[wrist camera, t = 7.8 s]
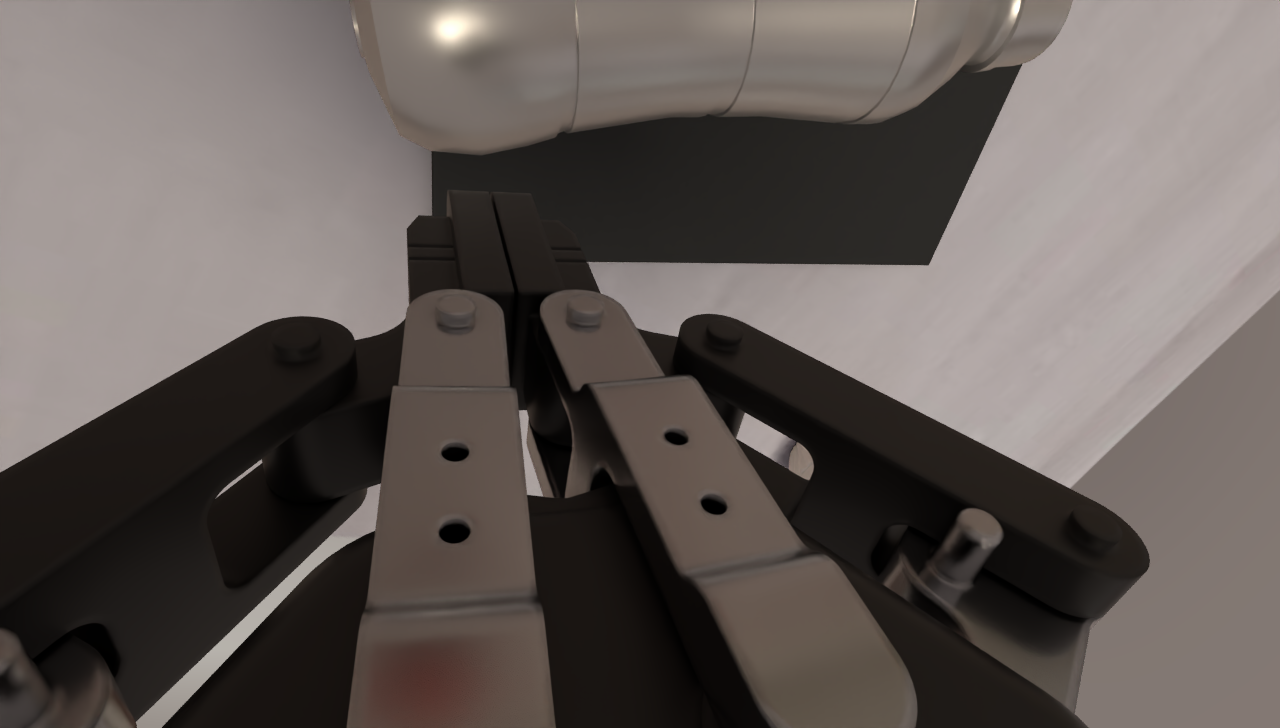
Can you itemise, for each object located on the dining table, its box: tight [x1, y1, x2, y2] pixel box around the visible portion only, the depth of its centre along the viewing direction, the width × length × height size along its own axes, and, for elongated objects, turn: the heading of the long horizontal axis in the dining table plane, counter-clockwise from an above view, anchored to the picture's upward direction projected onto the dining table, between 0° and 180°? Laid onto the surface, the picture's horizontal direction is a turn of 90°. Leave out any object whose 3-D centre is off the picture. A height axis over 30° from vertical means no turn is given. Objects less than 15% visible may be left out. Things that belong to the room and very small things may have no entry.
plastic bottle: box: [349, 0, 1073, 155], centre depth 20 cm, size 6×7×20 cm
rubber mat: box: [432, 63, 1023, 265], centre depth 25 cm, size 14×22×1 cm, turn 81°
